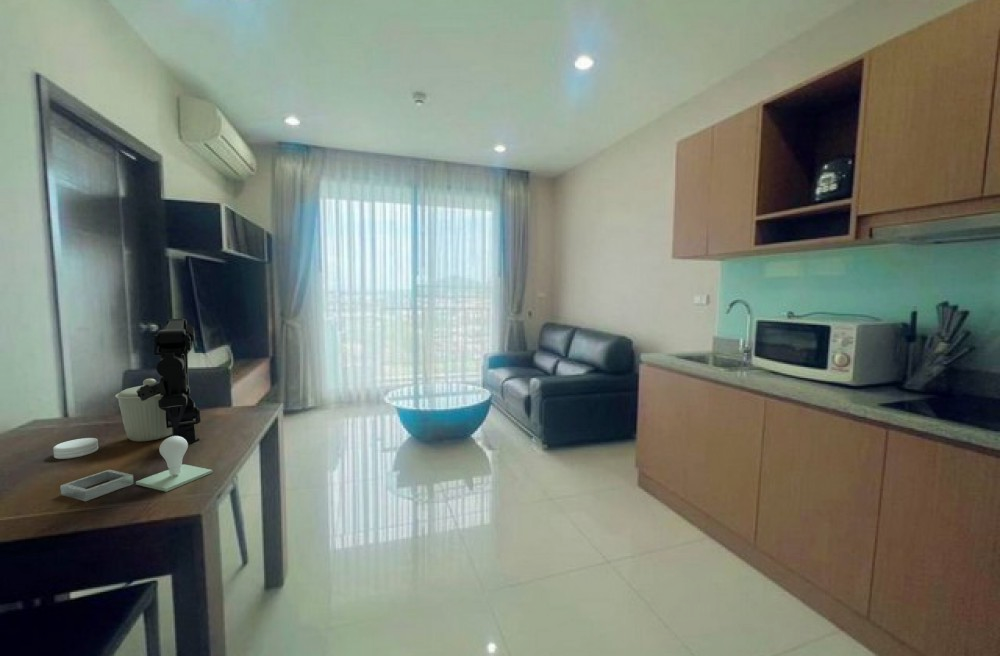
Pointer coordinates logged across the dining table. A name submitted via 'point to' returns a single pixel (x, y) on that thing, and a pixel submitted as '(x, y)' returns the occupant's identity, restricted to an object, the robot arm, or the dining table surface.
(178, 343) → the robot arm
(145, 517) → the dining table surface
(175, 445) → the lightbulb
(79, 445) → the white round disc
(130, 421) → the canister
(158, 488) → the green mat
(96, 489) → the grey square frame
